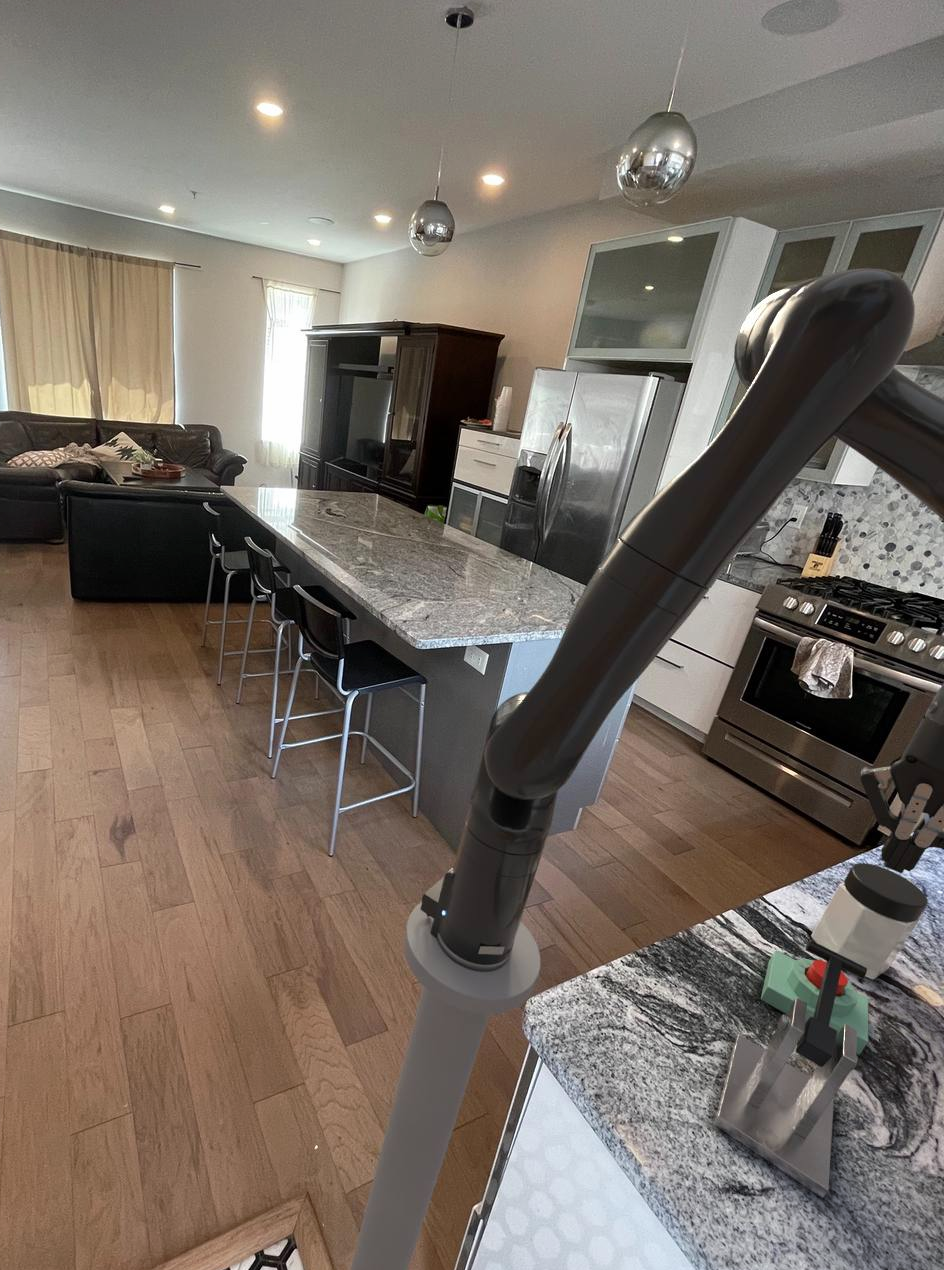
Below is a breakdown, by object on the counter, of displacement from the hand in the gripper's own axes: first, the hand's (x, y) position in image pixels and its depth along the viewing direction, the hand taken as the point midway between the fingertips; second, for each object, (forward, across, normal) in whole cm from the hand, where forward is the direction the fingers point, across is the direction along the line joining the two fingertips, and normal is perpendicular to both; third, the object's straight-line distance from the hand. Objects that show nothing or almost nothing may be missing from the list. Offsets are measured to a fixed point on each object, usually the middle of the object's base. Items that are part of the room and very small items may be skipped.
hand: (892, 866), depth 68 cm
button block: (+21, 0, 0) cm, 21 cm away
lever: (+11, +2, +14) cm, 18 cm away
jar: (+21, -4, -15) cm, 26 cm away
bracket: (+21, +2, +19) cm, 28 cm away
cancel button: (+17, 0, 0) cm, 17 cm away
